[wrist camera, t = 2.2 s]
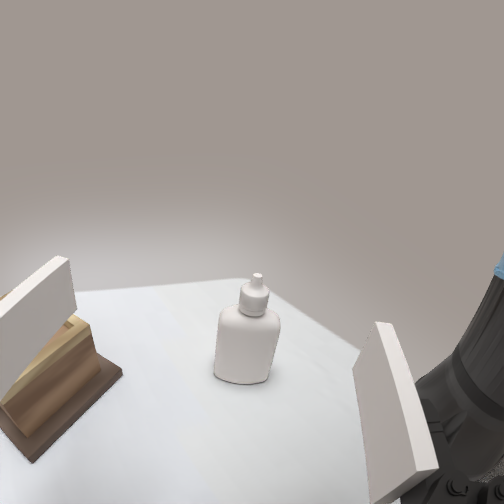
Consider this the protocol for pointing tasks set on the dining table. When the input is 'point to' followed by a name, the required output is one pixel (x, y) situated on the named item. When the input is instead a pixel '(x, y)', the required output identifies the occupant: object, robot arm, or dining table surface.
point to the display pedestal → (55, 389)
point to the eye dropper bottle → (247, 336)
